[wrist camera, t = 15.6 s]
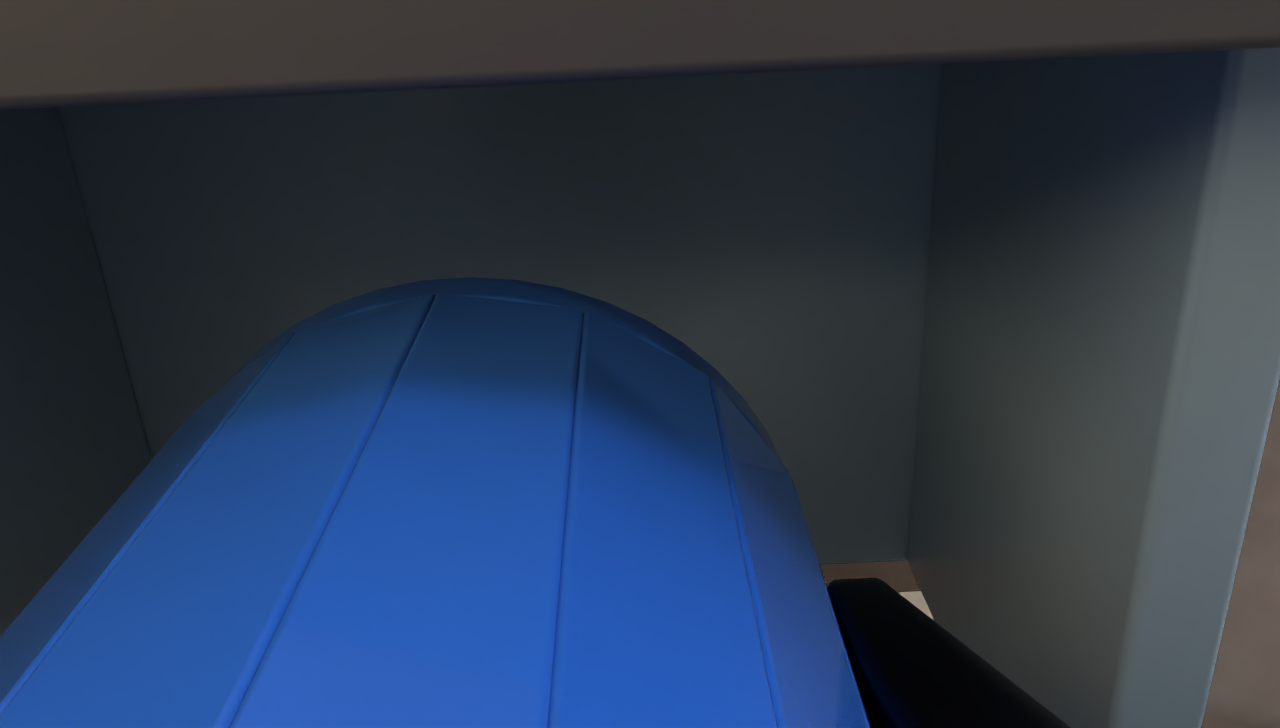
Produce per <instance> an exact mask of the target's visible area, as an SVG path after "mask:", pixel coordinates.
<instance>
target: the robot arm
mask: <svg viewBox="0 0 1280 728" xmlns="http://www.w3.org/2000/svg"><path fill="white" fill-rule="evenodd" d="M827 590H828V593H829V596H830V600H831V603H832V606H833V609H834V612H835V616H836V619H837V622H838V625H839V628H840V632H841V635H842V638H843V641H844V644H845V647H846V651H847V654H848V657H849V660H850V663H851V667H852V670H853V673H854V676H855V679H856V683H857V686H858V689H859V692H860V695H861V699H862V702H863V705H864V708H865V711H866V715H867V718H868V721H869V724H870V727H871V728H1071V727H1070V726H1069V725H1067V724H1066V723H1065V722H1063V721H1062V720H1061V719H1060V718H1058V717H1057V716H1056V715H1055V714H1053V713H1052V712H1051V711H1049V710H1048V709H1047V708H1046V707H1044V706H1043V705H1042V704H1040V703H1039V702H1038V701H1037V700H1035V699H1034V698H1033V697H1031V696H1030V695H1029V694H1028V693H1026V692H1025V691H1024V690H1022V689H1021V688H1020V687H1019V686H1017V685H1016V684H1015V683H1013V682H1012V681H1011V680H1010V679H1008V678H1007V677H1006V676H1004V675H1003V674H1002V673H1001V672H999V671H998V670H997V669H995V668H994V667H993V666H992V665H990V664H989V663H988V662H986V661H985V660H984V659H983V658H981V657H980V656H979V655H977V654H976V653H975V652H974V651H972V650H971V649H970V648H969V647H967V646H966V645H965V644H963V643H962V642H961V641H960V640H958V639H957V638H956V637H954V636H953V635H952V634H951V633H949V632H948V631H947V630H945V629H944V628H943V627H942V626H940V625H939V624H938V623H936V622H935V621H934V620H933V619H931V618H930V617H929V616H927V615H926V614H925V613H924V612H922V611H921V610H920V609H918V608H917V607H916V606H915V605H913V604H912V603H911V602H909V601H908V600H907V599H906V598H904V597H903V596H902V595H900V594H899V593H898V592H897V591H895V590H894V589H893V588H891V587H890V586H889V585H888V584H886V583H885V582H883V581H882V580H880V579H877V578H859V579H839V580H833V581H832V582H830V584H829V585H828V587H827Z"/></svg>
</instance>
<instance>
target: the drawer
mask: <svg viewBox="0 0 1280 728" xmlns="http://www.w3.org/2000/svg"><path fill="white" fill-rule="evenodd" d="M464 277H476V278H494V279H512V280H520V281H526V282H532V283H537V284H543V285H548V286H554V287H559V288H564V289H567V290H570V291H573V292H577V293H580V294H583V295H586V296H589V297H593V298H596V299H599V300H602V301H606V302H608V303H610V304H612V305H614V306H617V307H619V308H621V309H623V310H626V311H628V312H630V313H632V314H634V315H637V316H639V317H641V318H643V319H645V320H647V321H649V322H651V323H652V324H654V325H656V326H657V327H659V328H660V329H662V330H664V331H665V332H667V333H668V334H670V335H672V336H673V337H675V338H677V339H678V340H680V341H681V342H683V343H685V344H686V345H687V346H688V347H690V348H691V349H692V350H693V351H694V352H696V353H697V354H698V355H699V356H701V357H702V358H703V359H704V360H705V361H707V362H708V363H709V364H710V365H712V366H713V367H714V368H715V369H716V370H718V371H719V372H720V374H721V375H722V376H723V377H724V378H725V379H726V380H727V381H728V382H729V383H730V384H731V385H732V386H733V388H734V389H735V390H736V391H737V392H738V393H739V394H740V395H741V396H742V397H743V398H744V399H745V400H746V402H747V403H748V405H749V406H750V408H751V409H752V410H753V412H754V413H755V415H756V416H757V418H758V419H759V420H760V422H761V423H762V425H763V426H764V428H765V429H766V430H767V432H768V434H769V436H770V438H771V440H772V442H773V444H774V446H775V448H776V450H777V452H778V454H779V456H780V458H781V460H782V462H783V464H784V466H785V468H786V469H787V470H788V471H789V474H790V477H791V479H792V480H793V481H794V484H795V488H796V491H797V494H798V497H799V500H800V504H801V507H802V510H803V513H804V516H805V520H806V523H807V526H808V529H809V532H810V536H811V539H812V542H813V545H814V548H815V552H816V555H817V558H818V561H819V564H820V565H824V564H844V563H864V562H883V561H903V560H907V561H908V564H909V566H910V568H911V570H912V572H913V575H914V577H915V579H916V581H917V583H918V586H919V588H920V590H921V591H915V592H898V593H899V594H900V595H902V596H903V597H904V598H906V599H907V600H908V601H909V602H911V603H912V604H913V605H915V606H916V607H917V608H918V609H920V610H921V611H922V612H924V613H925V614H926V615H927V616H929V617H930V618H931V619H933V620H934V621H935V622H936V623H938V624H939V625H940V626H942V627H943V628H944V629H945V630H947V631H948V632H949V633H951V634H952V635H953V636H954V637H956V638H957V639H958V640H960V641H961V642H962V643H963V644H965V645H966V646H967V647H969V648H970V649H971V650H972V651H974V652H975V653H976V654H977V655H979V656H980V657H981V658H983V659H984V660H985V661H986V662H988V663H989V664H990V665H992V666H993V667H994V668H995V669H997V670H998V671H999V672H1001V673H1002V674H1003V675H1004V676H1006V677H1007V678H1008V679H1010V680H1011V681H1012V682H1013V683H1015V684H1016V685H1017V686H1019V687H1020V688H1021V689H1022V690H1024V691H1025V692H1026V693H1028V694H1029V695H1030V696H1031V697H1033V698H1034V699H1035V700H1037V701H1038V702H1039V703H1040V704H1042V705H1043V706H1044V707H1046V708H1047V709H1048V710H1049V711H1051V712H1052V713H1053V714H1055V715H1056V716H1057V717H1058V718H1060V719H1061V720H1062V721H1063V722H1065V723H1066V724H1067V725H1069V726H1070V727H1071V728H1201V727H1202V722H1203V718H1204V713H1205V709H1206V704H1207V700H1208V695H1209V691H1210V687H1211V682H1212V678H1213V673H1214V669H1215V664H1216V660H1217V655H1218V651H1219V646H1220V642H1221V637H1222V633H1223V629H1224V624H1225V620H1226V615H1227V611H1228V606H1229V602H1230V597H1231V593H1232V588H1233V584H1234V580H1235V575H1236V571H1237V566H1238V562H1239V557H1240V553H1241V548H1242V544H1243V539H1244V535H1245V531H1246V526H1247V522H1248V517H1249V513H1250V508H1251V504H1252V499H1253V495H1254V490H1255V486H1256V482H1257V477H1258V473H1259V468H1260V464H1261V459H1262V455H1263V450H1264V446H1265V441H1266V437H1267V433H1268V428H1269V424H1270V419H1271V415H1272V410H1273V406H1274V401H1275V397H1276V392H1277V388H1278V384H1279V379H1280V47H1277V48H1257V49H1236V50H1216V51H1196V52H1175V53H1155V54H1134V55H1114V56H1093V57H1073V58H1052V59H1032V60H1011V61H991V62H971V63H950V64H930V65H909V66H889V67H868V68H848V69H827V70H807V71H787V72H766V73H746V74H725V75H705V76H684V77H664V78H643V79H623V80H603V81H582V82H562V83H541V84H521V85H500V86H480V87H459V88H439V89H419V90H398V91H378V92H357V93H337V94H316V95H296V96H275V97H255V98H235V99H214V100H194V101H173V102H153V103H132V104H112V105H91V106H71V107H51V108H30V109H10V110H0V636H1V635H2V634H3V633H4V631H5V630H6V629H7V628H8V627H9V626H10V624H11V623H12V622H13V621H14V620H15V619H16V617H17V616H18V615H19V614H20V613H21V612H22V610H23V609H24V608H25V607H26V606H27V605H28V603H29V602H30V601H31V600H32V599H33V598H34V596H35V595H36V594H37V593H38V592H39V591H40V589H41V588H42V587H43V586H44V585H45V584H46V582H47V581H48V580H49V579H50V578H51V577H52V575H53V574H54V573H55V572H56V571H57V570H58V568H59V567H60V566H61V565H62V564H63V563H64V561H65V560H66V559H67V558H68V557H69V556H70V554H71V553H72V552H73V551H74V550H75V549H76V547H77V546H78V545H79V544H80V543H81V542H82V540H83V539H84V538H85V537H86V536H87V535H88V533H89V532H90V531H91V530H92V529H93V528H94V526H95V525H96V524H97V523H98V522H99V521H100V519H101V518H102V517H103V516H104V515H105V514H106V512H107V511H108V510H109V509H110V508H111V507H112V506H113V504H114V503H115V502H116V501H117V500H118V499H119V497H120V496H121V495H122V494H123V493H124V492H125V490H126V489H127V488H128V487H129V486H130V485H131V483H132V482H133V481H134V480H135V479H136V478H137V476H138V475H139V474H140V473H141V472H142V471H143V469H144V468H145V467H146V466H147V465H148V464H149V462H150V461H151V460H152V459H153V458H154V457H155V455H156V454H157V453H158V452H159V451H160V450H161V448H162V447H163V446H164V445H165V444H166V443H167V441H168V440H169V439H170V438H171V437H172V436H173V434H174V433H175V432H176V431H177V430H178V429H179V427H180V426H181V425H182V424H183V423H184V422H185V420H186V419H187V418H188V417H189V416H190V415H191V413H192V412H193V411H194V410H195V409H196V408H197V407H198V406H200V405H201V404H202V403H203V402H205V401H206V400H207V399H208V398H210V397H211V396H212V395H213V394H215V393H216V392H217V391H218V390H220V389H221V388H222V386H223V385H224V384H225V383H226V382H227V380H228V379H229V378H230V377H231V376H232V375H233V374H234V373H235V372H236V371H237V370H238V369H239V368H240V367H241V366H242V365H243V364H244V363H245V362H247V361H248V360H249V359H250V358H251V357H252V356H253V355H254V354H255V353H256V352H257V351H258V350H259V349H260V348H262V347H263V346H264V345H266V344H267V343H269V342H270V341H271V340H273V339H274V338H276V337H277V336H279V335H280V334H282V333H283V332H285V331H286V330H287V329H289V328H290V327H292V326H293V325H295V324H296V323H298V322H300V321H302V320H304V319H306V318H308V317H310V316H312V315H314V314H316V313H318V312H320V311H322V310H324V309H326V308H328V307H330V306H332V305H334V304H336V303H339V302H342V301H345V300H348V299H351V298H354V297H357V296H360V295H363V294H366V293H369V292H372V291H375V290H378V289H382V288H387V287H392V286H397V285H402V284H407V283H412V282H417V281H422V280H436V279H450V278H464Z"/></svg>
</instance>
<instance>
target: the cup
mask: <svg viewBox="0 0 1280 728" xmlns="http://www.w3.org/2000/svg"><path fill="white" fill-rule="evenodd" d="M0 728H871V727H870V724H869V721H868V718H867V715H866V711H865V708H864V705H863V702H862V699H861V695H860V692H859V689H858V686H857V683H856V679H855V676H854V673H853V670H852V667H851V663H850V660H849V657H848V654H847V651H846V647H845V644H844V641H843V638H842V635H841V632H840V628H839V625H838V622H837V619H836V616H835V612H834V609H833V606H832V603H831V600H830V596H829V593H828V590H827V587H826V584H825V580H824V577H823V574H822V571H821V568H820V564H819V561H818V558H817V555H816V552H815V548H814V545H813V542H812V539H811V536H810V532H809V529H808V526H807V523H806V520H805V516H804V513H803V510H802V507H801V504H800V500H799V497H798V494H797V491H796V488H795V484H794V481H793V480H792V479H791V477H790V474H789V471H788V470H787V469H786V468H785V466H784V464H783V462H782V460H781V458H780V456H779V454H778V452H777V450H776V448H775V446H774V444H773V442H772V440H771V438H770V436H769V434H768V432H767V430H766V429H765V428H764V426H763V425H762V423H761V422H760V420H759V419H758V418H757V416H756V415H755V413H754V412H753V410H752V409H751V408H750V406H749V405H748V403H747V402H746V400H745V399H744V398H743V397H742V396H741V395H740V394H739V393H738V392H737V391H736V390H735V389H734V388H733V386H732V385H731V384H730V383H729V382H728V381H727V380H726V379H725V378H724V377H723V376H722V375H721V374H720V372H719V371H718V370H716V369H715V368H714V367H713V366H712V365H710V364H709V363H708V362H707V361H705V360H704V359H703V358H702V357H701V356H699V355H698V354H697V353H696V352H694V351H693V350H692V349H691V348H690V347H688V346H687V345H686V344H685V343H683V342H681V341H680V340H678V339H677V338H675V337H673V336H672V335H670V334H668V333H667V332H665V331H664V330H662V329H660V328H659V327H657V326H656V325H654V324H652V323H651V322H649V321H647V320H645V319H643V318H641V317H639V316H637V315H634V314H632V313H630V312H628V311H626V310H623V309H621V308H619V307H617V306H614V305H612V304H610V303H608V302H606V301H602V300H599V299H596V298H593V297H589V296H586V295H583V294H580V293H577V292H573V291H570V290H567V289H564V288H559V287H554V286H548V285H543V284H537V283H532V282H526V281H520V280H512V279H494V278H476V277H464V278H450V279H436V280H422V281H417V282H412V283H407V284H402V285H397V286H392V287H387V288H382V289H378V290H375V291H372V292H369V293H366V294H363V295H360V296H357V297H354V298H351V299H348V300H345V301H342V302H339V303H336V304H334V305H332V306H330V307H328V308H326V309H324V310H322V311H320V312H318V313H316V314H314V315H312V316H310V317H308V318H306V319H304V320H302V321H300V322H298V323H296V324H295V325H293V326H292V327H290V328H289V329H287V330H286V331H285V332H283V333H282V334H280V335H279V336H277V337H276V338H274V339H273V340H271V341H270V342H269V343H267V344H266V345H264V346H263V347H262V348H260V349H259V350H258V351H257V352H256V353H255V354H254V355H253V356H252V357H251V358H250V359H249V360H248V361H247V362H245V363H244V364H243V365H242V366H241V367H240V368H239V369H238V370H237V371H236V372H235V373H234V374H233V375H232V376H231V377H230V378H229V379H228V380H227V382H226V383H225V384H224V385H223V386H222V388H221V389H220V390H218V391H217V392H216V393H215V394H213V395H212V396H211V397H210V398H208V399H207V400H206V401H205V402H203V403H202V404H201V405H200V406H198V407H197V408H196V409H195V410H194V411H193V412H192V413H191V415H190V416H189V417H188V418H187V419H186V420H185V422H184V423H183V424H182V425H181V426H180V427H179V429H178V430H177V431H176V432H175V433H174V434H173V436H172V437H171V438H170V439H169V440H168V441H167V443H166V444H165V445H164V446H163V447H162V448H161V450H160V451H159V452H158V453H157V454H156V455H155V457H154V458H153V459H152V460H151V461H150V462H149V464H148V465H147V466H146V467H145V468H144V469H143V471H142V472H141V473H140V474H139V475H138V476H137V478H136V479H135V480H134V481H133V482H132V483H131V485H130V486H129V487H128V488H127V489H126V490H125V492H124V493H123V494H122V495H121V496H120V497H119V499H118V500H117V501H116V502H115V503H114V504H113V506H112V507H111V508H110V509H109V510H108V511H107V512H106V514H105V515H104V516H103V517H102V518H101V519H100V521H99V522H98V523H97V524H96V525H95V526H94V528H93V529H92V530H91V531H90V532H89V533H88V535H87V536H86V537H85V538H84V539H83V540H82V542H81V543H80V544H79V545H78V546H77V547H76V549H75V550H74V551H73V552H72V553H71V554H70V556H69V557H68V558H67V559H66V560H65V561H64V563H63V564H62V565H61V566H60V567H59V568H58V570H57V571H56V572H55V573H54V574H53V575H52V577H51V578H50V579H49V580H48V581H47V582H46V584H45V585H44V586H43V587H42V588H41V589H40V591H39V592H38V593H37V594H36V595H35V596H34V598H33V599H32V600H31V601H30V602H29V603H28V605H27V606H26V607H25V608H24V609H23V610H22V612H21V613H20V614H19V615H18V616H17V617H16V619H15V620H14V621H13V622H12V623H11V624H10V626H9V627H8V628H7V629H6V630H5V631H4V633H3V634H2V635H1V636H0Z"/></svg>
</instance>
